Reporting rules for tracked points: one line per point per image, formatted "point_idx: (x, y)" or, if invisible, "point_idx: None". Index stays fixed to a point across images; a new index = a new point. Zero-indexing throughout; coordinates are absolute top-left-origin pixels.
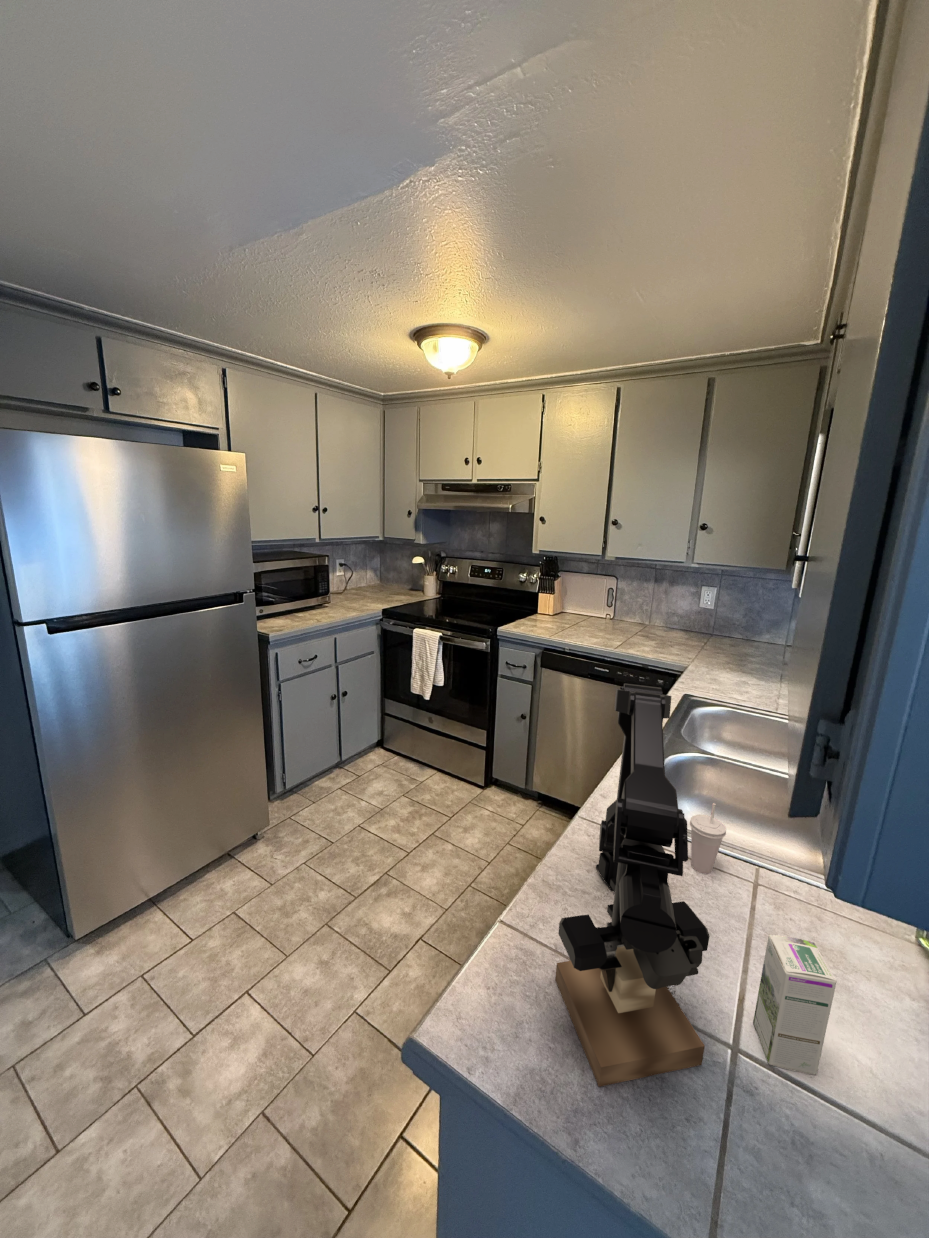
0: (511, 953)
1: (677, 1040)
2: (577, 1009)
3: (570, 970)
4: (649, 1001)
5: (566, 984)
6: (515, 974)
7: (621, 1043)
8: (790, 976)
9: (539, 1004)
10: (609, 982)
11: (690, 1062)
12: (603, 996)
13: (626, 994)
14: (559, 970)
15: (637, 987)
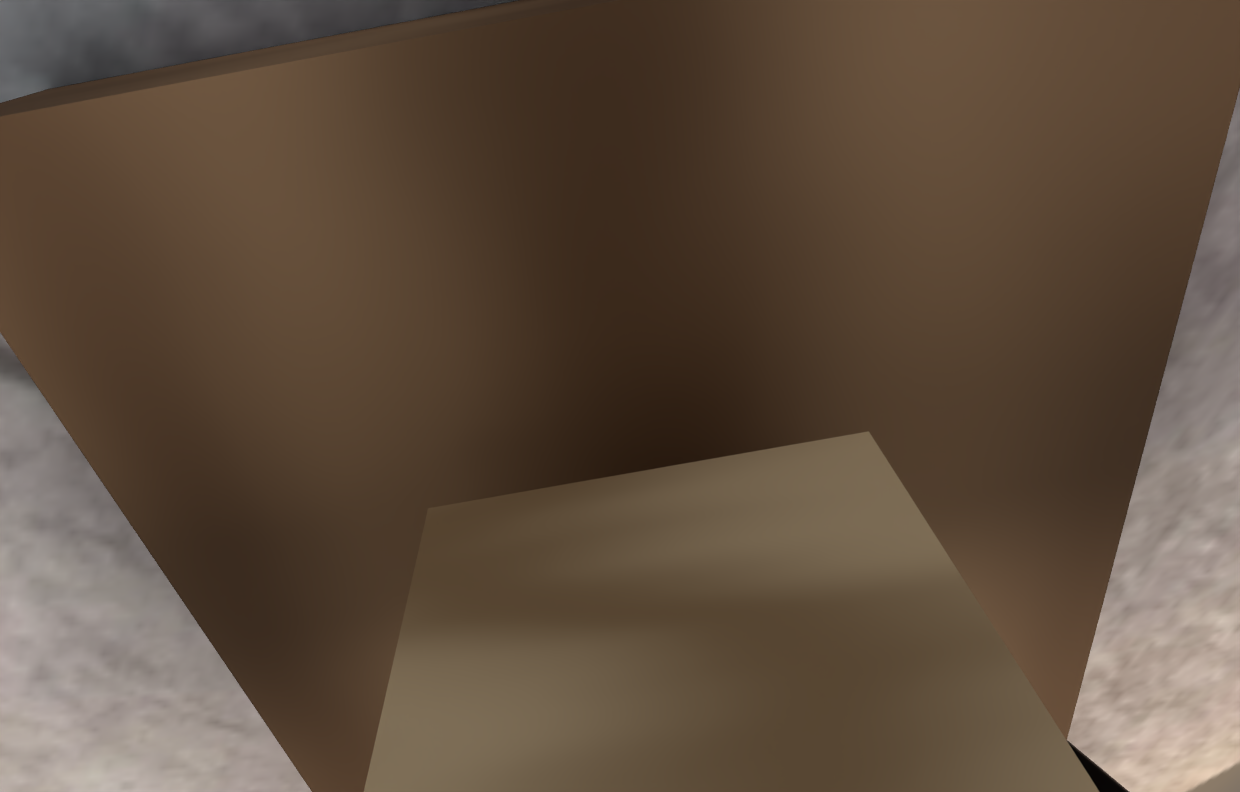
0: (1159, 726)
1: (220, 200)
2: (1135, 459)
3: None
4: (478, 560)
5: (1088, 625)
6: (1210, 634)
7: (894, 160)
8: None
9: (1176, 489)
10: (1092, 777)
11: (143, 74)
12: None
13: (893, 647)
14: (1069, 702)
15: (725, 772)
